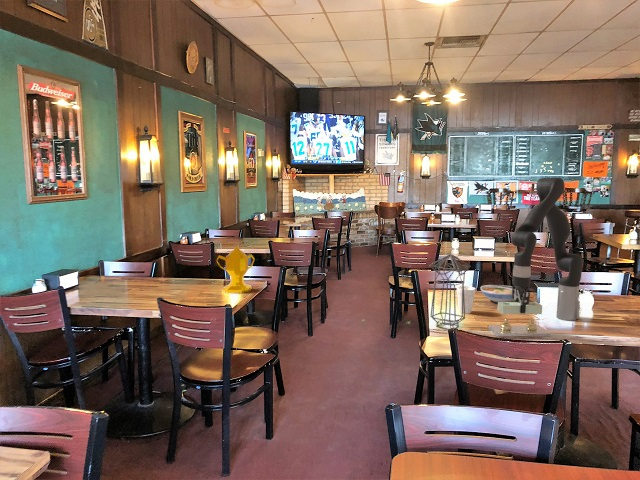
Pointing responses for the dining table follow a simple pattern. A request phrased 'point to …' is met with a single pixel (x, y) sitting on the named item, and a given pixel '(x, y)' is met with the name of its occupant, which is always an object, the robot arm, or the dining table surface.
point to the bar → (515, 308)
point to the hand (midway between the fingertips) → (519, 311)
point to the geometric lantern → (450, 287)
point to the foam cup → (466, 298)
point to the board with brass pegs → (518, 330)
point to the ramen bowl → (498, 292)
